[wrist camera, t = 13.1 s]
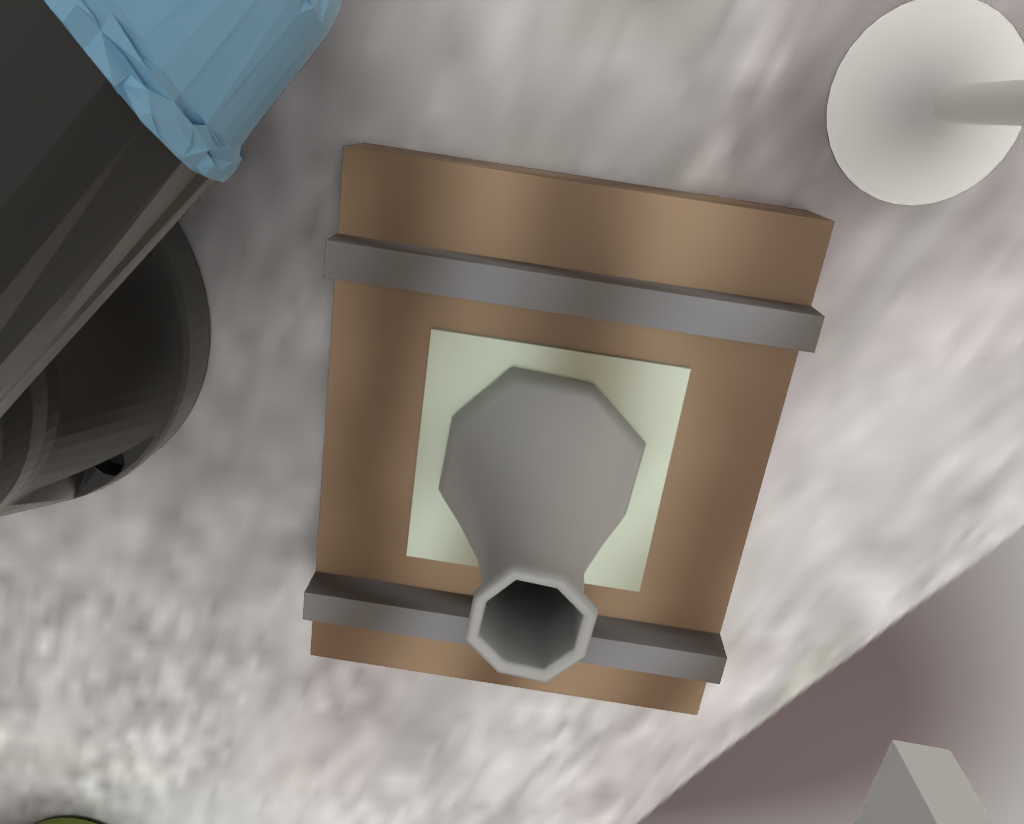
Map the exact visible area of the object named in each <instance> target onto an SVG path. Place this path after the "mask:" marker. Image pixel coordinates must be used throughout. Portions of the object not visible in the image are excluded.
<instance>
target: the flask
mask: <svg viewBox="0 0 1024 824" xmlns="http://www.w3.org/2000/svg"><path fill="white" fill-rule="evenodd" d="M645 446H646V443H645V441H644V440H643V439H642V438H641V437H640V436H639V435H638V433H637V432H636V431H635V430H634V429H633V428H632V427H631V426H630V424H629V423H628V422H627V421H626V420H625V419H624V418H623V416H622V415H621V414H620V413H619V412H618V411H617V410H616V409H615V407H614V406H613V405H612V404H611V403H610V402H609V401H608V399H607V398H606V397H605V396H604V395H603V394H602V393H601V391H600V390H599V389H598V388H597V387H596V386H595V385H594V384H590V383H585V382H580V381H576V380H571V379H566V378H562V377H557V376H553V375H548V374H543V373H539V372H534V371H529V370H525V369H520V368H516V367H512V368H511V369H510V370H509V371H507V372H506V373H505V374H504V375H503V376H501V377H500V378H499V379H498V380H497V381H495V382H494V383H493V384H492V385H491V386H489V387H488V388H487V389H486V390H485V391H483V392H482V393H481V394H480V395H478V396H477V397H476V398H475V399H474V400H472V401H471V402H470V403H469V404H468V405H466V406H465V407H464V408H463V409H462V410H460V411H459V412H458V413H457V414H456V415H454V416H453V417H452V421H451V426H450V431H449V436H448V441H447V447H446V452H445V457H444V462H443V467H442V472H441V478H440V483H439V488H438V489H439V491H440V493H441V495H442V497H443V499H444V500H445V502H446V503H447V505H448V507H449V508H450V510H451V512H452V513H453V515H454V516H455V518H456V520H457V521H458V523H459V524H460V526H461V528H462V530H463V532H464V534H465V536H466V538H467V540H468V542H469V544H470V546H471V548H472V550H473V552H474V554H475V556H476V558H477V560H478V564H479V570H480V576H481V582H482V585H481V586H479V587H478V588H477V589H476V591H475V592H474V597H473V601H472V606H471V610H470V615H469V619H468V624H467V628H466V633H465V641H466V642H467V643H468V644H469V645H470V646H471V647H472V648H473V649H474V650H475V651H476V652H477V653H478V654H480V655H481V656H482V657H483V658H484V659H485V660H486V661H487V662H488V663H489V664H490V665H491V666H492V667H493V668H494V669H495V670H496V671H497V672H498V673H503V674H507V675H512V676H517V677H522V678H527V679H531V680H536V681H541V682H546V683H547V682H549V681H550V680H552V679H553V678H555V677H556V676H558V675H559V674H561V673H562V672H563V671H565V670H566V669H568V668H569V667H571V666H572V665H574V664H575V663H577V662H578V661H580V660H581V659H583V658H584V657H585V656H586V653H587V649H588V646H589V642H590V639H591V636H592V632H593V629H594V625H595V622H596V618H597V615H598V609H597V607H596V605H595V604H594V603H593V602H592V601H591V600H590V599H589V598H588V596H587V595H586V594H585V593H584V573H585V571H586V570H587V568H588V567H589V565H590V564H591V562H592V561H593V559H594V558H595V556H596V554H597V553H598V551H599V550H600V548H601V547H602V545H603V544H604V543H605V541H606V540H607V539H608V537H609V536H610V535H611V534H612V532H613V531H614V530H615V529H616V527H617V526H618V525H619V524H620V522H621V521H622V519H623V518H624V516H625V515H626V512H627V508H628V505H629V501H630V498H631V495H632V491H633V488H634V484H635V481H636V477H637V474H638V470H639V467H640V463H641V460H642V457H643V453H644V450H645Z"/></svg>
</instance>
